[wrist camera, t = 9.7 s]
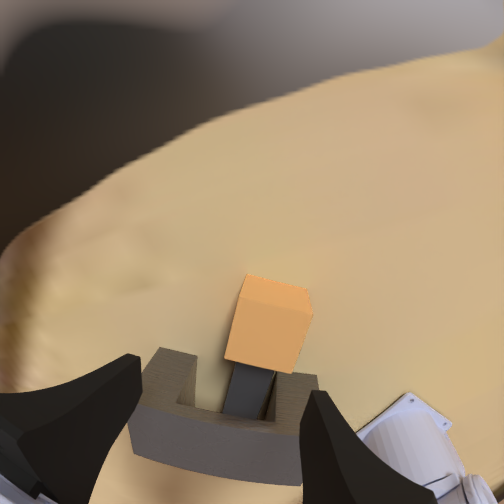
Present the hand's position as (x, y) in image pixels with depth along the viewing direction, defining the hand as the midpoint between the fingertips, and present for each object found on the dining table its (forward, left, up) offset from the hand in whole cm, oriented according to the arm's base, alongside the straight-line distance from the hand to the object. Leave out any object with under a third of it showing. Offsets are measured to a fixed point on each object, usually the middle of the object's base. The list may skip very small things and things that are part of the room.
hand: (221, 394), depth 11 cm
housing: (-4, +7, -9) cm, 12 cm away
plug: (-4, +4, -9) cm, 11 cm away
